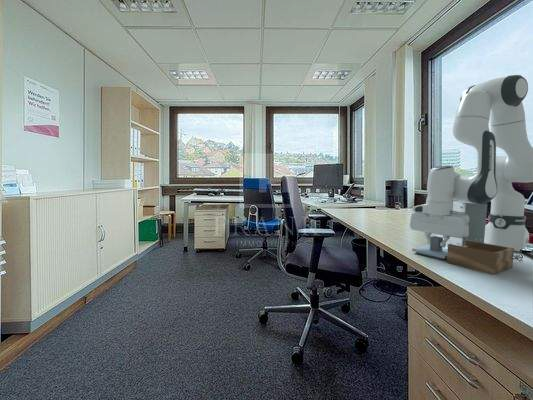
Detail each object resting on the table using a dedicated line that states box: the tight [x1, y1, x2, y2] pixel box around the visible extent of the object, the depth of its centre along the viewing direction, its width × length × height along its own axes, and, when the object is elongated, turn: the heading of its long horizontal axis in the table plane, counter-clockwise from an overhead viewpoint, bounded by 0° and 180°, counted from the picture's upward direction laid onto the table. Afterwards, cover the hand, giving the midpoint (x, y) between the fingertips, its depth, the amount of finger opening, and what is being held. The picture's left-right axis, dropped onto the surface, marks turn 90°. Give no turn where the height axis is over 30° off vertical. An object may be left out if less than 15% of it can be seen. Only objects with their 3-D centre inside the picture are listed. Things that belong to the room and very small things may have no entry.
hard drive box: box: [446, 200, 488, 247], centre depth 121 cm, size 16×8×20 cm, turn 168°
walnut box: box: [446, 240, 515, 275], centre depth 101 cm, size 14×14×6 cm
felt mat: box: [415, 252, 447, 261], centre depth 114 cm, size 10×10×1 cm
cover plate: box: [411, 235, 448, 260], centre depth 113 cm, size 11×12×6 cm
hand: (436, 245), depth 113 cm, fingers open, 3 cm apart
